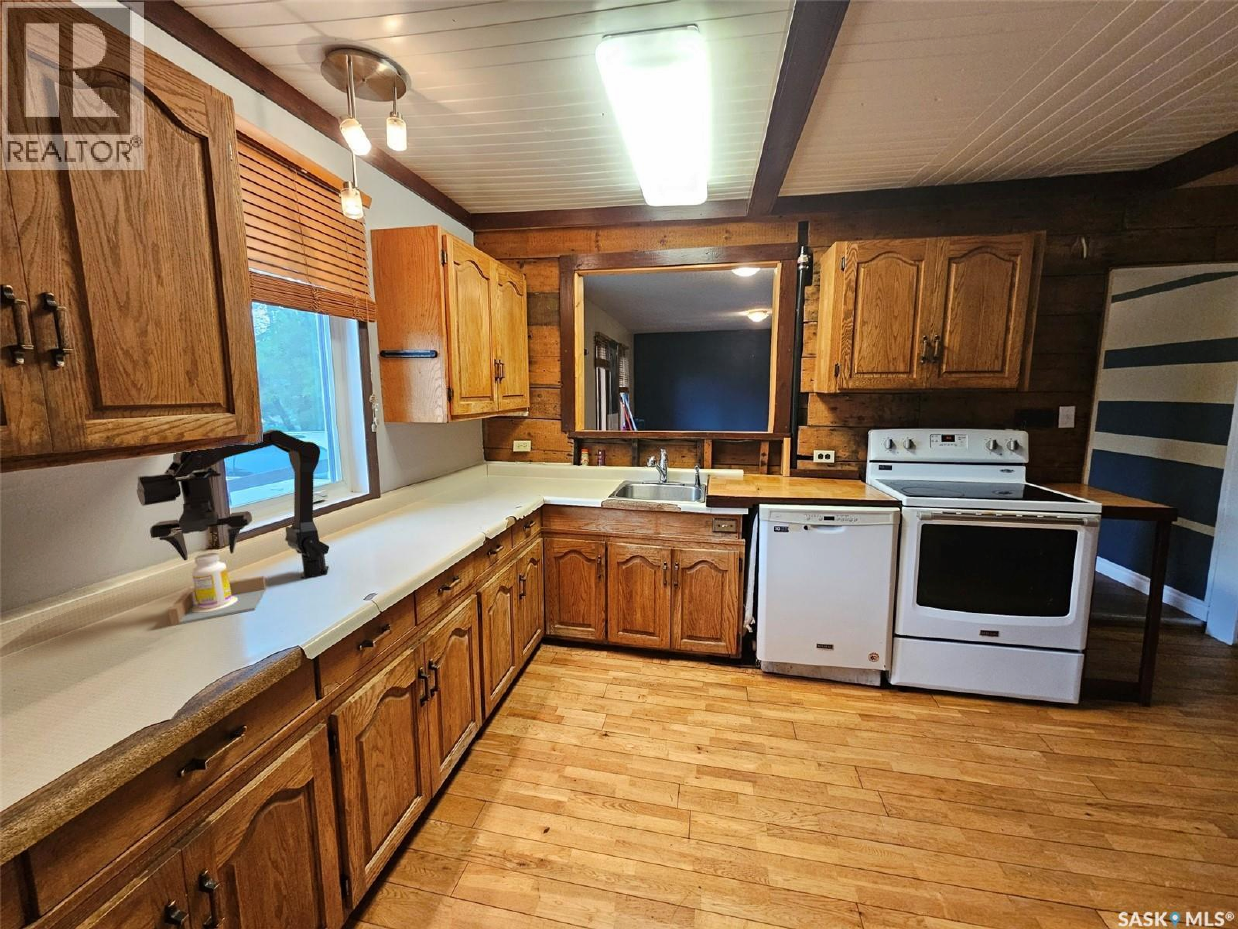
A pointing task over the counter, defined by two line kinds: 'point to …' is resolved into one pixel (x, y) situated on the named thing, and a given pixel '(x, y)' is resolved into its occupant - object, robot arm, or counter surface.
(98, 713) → the counter surface
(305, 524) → the robot arm
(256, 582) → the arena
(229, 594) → the supplement bottle
